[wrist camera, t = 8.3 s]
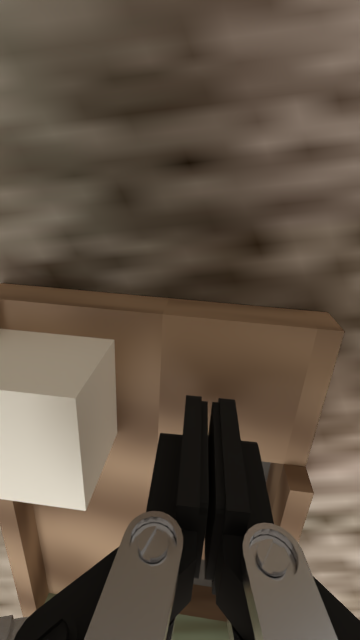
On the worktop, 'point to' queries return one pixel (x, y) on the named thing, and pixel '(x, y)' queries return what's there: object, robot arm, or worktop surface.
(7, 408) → the block
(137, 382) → the box
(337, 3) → the worktop surface
